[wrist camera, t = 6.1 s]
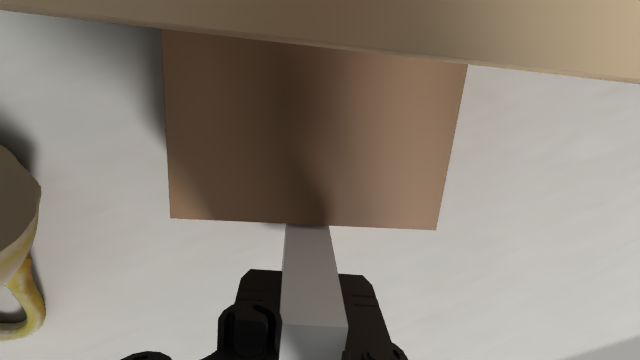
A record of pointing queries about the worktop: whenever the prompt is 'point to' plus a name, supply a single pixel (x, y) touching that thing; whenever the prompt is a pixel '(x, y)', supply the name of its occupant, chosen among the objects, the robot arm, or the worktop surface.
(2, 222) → the mug
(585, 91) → the worktop surface
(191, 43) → the slab
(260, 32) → the shelf
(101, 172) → the worktop surface
